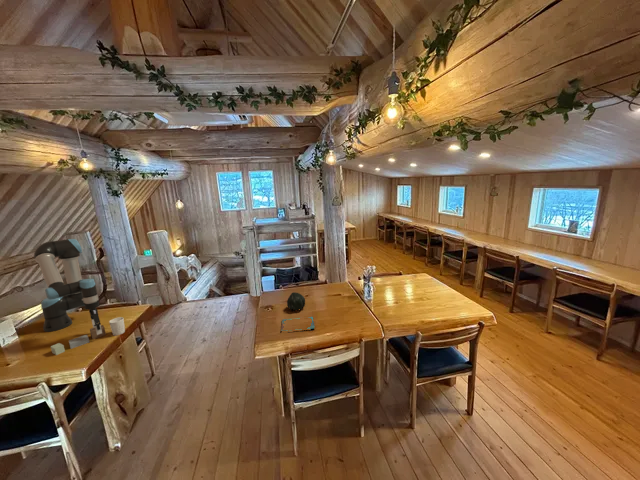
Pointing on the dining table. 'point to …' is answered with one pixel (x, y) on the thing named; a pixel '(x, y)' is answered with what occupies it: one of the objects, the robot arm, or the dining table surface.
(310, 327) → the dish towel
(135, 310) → the dining table surface
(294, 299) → the squash
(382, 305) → the dining table surface
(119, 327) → the white cup
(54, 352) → the sage block
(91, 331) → the walnut block
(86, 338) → the grey slab
